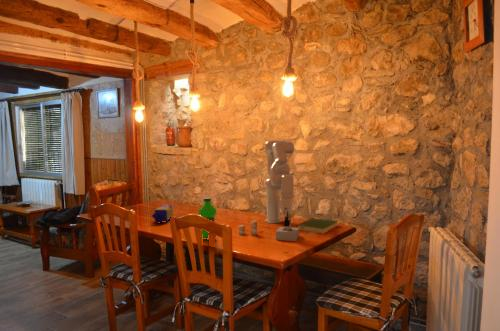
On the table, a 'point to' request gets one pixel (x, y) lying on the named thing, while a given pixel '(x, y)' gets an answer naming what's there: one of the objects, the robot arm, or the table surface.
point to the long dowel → (289, 226)
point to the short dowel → (241, 229)
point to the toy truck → (163, 213)
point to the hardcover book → (317, 225)
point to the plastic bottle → (207, 213)
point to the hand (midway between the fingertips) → (287, 225)
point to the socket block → (287, 234)
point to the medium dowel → (253, 227)
